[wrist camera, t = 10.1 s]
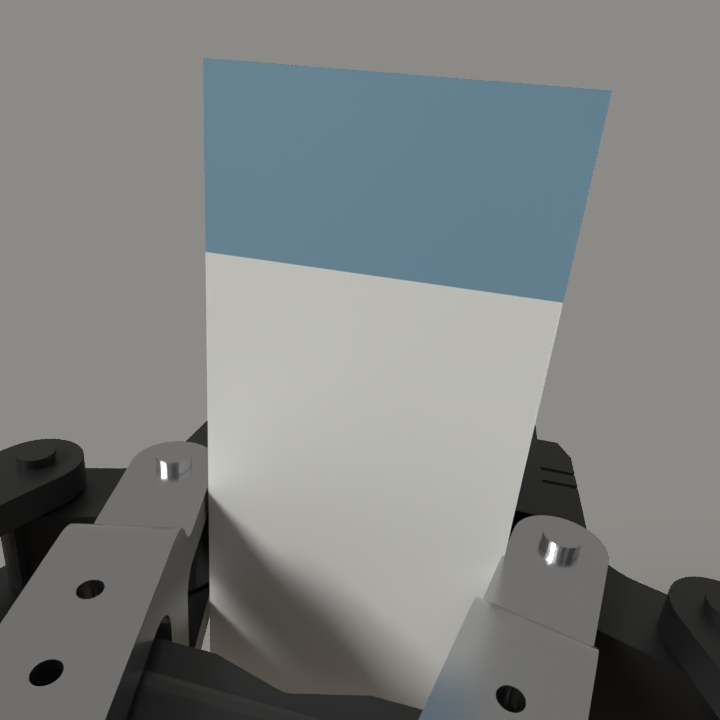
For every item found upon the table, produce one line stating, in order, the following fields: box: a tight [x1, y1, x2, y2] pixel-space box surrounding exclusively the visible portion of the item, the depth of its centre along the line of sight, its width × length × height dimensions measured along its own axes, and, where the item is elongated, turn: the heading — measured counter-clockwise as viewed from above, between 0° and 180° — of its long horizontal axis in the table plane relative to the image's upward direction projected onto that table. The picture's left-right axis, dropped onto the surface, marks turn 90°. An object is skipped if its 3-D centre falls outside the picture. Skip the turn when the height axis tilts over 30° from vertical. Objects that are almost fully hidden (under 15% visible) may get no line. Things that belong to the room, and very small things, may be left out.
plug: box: [203, 58, 612, 710], centre depth 10 cm, size 4×4×15 cm
